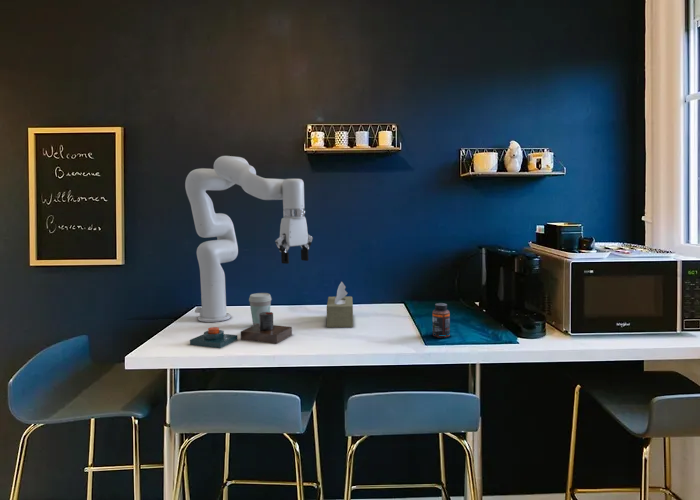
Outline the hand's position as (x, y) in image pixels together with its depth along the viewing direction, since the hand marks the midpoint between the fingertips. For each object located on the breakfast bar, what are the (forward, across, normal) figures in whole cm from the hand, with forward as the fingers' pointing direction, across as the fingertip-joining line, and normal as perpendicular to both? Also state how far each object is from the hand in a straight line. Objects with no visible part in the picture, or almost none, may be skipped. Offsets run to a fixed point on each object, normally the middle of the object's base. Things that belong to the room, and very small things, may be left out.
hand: (295, 261), depth 180 cm
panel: (+26, +12, -3) cm, 28 cm away
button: (+22, +26, -13) cm, 37 cm away
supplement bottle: (+26, -27, +44) cm, 58 cm away
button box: (+26, +26, -13) cm, 39 cm away
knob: (+23, +11, -3) cm, 26 cm away
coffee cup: (+26, +2, -17) cm, 31 cm away
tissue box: (+26, -21, +2) cm, 33 cm away
